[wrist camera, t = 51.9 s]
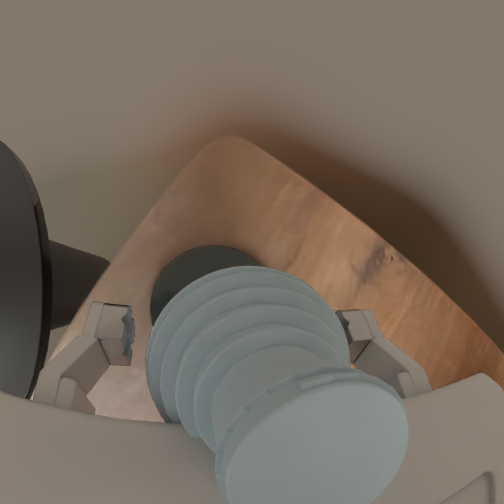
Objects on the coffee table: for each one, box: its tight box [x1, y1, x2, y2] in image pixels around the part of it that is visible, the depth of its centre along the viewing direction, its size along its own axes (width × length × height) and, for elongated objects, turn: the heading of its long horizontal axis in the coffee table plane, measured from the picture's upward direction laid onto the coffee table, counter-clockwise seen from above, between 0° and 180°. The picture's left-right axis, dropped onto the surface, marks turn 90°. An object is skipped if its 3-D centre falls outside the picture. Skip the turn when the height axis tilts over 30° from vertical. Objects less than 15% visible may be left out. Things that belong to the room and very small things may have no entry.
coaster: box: [150, 246, 261, 327], centre depth 23 cm, size 10×10×1 cm
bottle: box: [145, 266, 409, 504], centre depth 13 cm, size 6×6×20 cm
